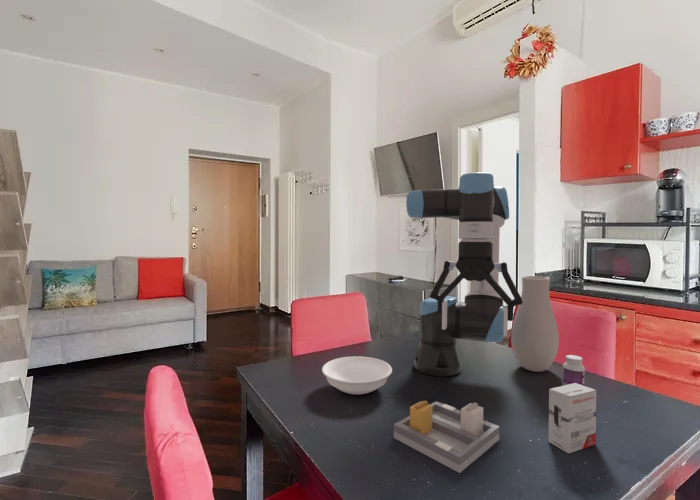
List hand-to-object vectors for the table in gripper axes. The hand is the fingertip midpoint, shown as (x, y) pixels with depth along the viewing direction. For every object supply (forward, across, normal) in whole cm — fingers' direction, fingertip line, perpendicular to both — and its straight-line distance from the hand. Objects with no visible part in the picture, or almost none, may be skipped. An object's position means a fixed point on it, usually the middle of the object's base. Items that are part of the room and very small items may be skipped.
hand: (473, 331), depth 86 cm
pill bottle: (+22, +24, +29) cm, 43 cm away
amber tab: (+20, -9, -12) cm, 25 cm away
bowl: (+22, -32, +5) cm, 39 cm away
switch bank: (+22, -4, -10) cm, 24 cm away
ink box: (+22, +20, -1) cm, 30 cm away
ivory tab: (+20, +1, -9) cm, 22 cm away
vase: (+21, +15, +42) cm, 50 cm away
